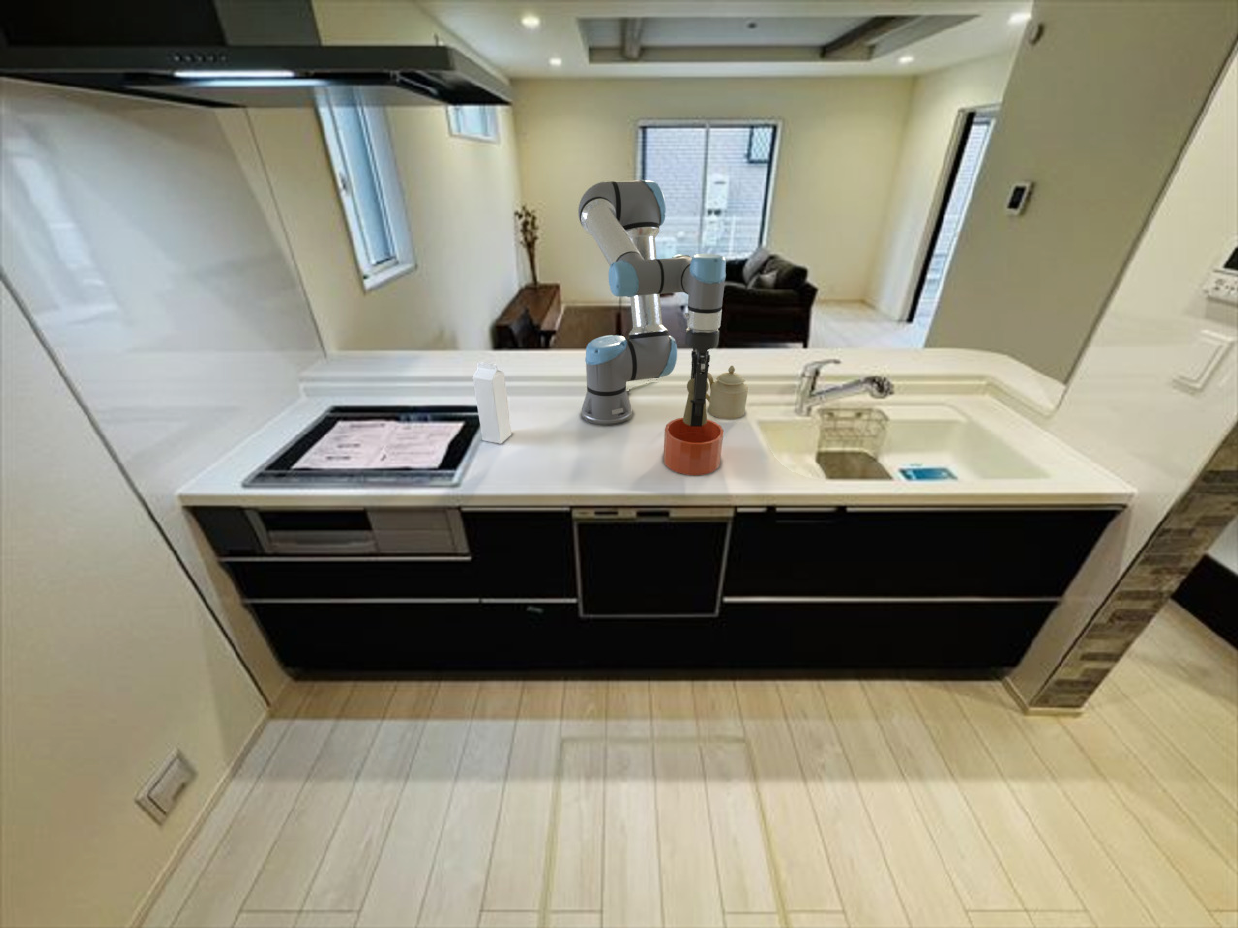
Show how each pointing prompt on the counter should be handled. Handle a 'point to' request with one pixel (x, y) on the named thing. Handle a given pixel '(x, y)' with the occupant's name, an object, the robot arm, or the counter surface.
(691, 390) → the cork
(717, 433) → the pot
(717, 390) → the beige ceramic rounded vessel
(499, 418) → the milk
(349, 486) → the counter surface
